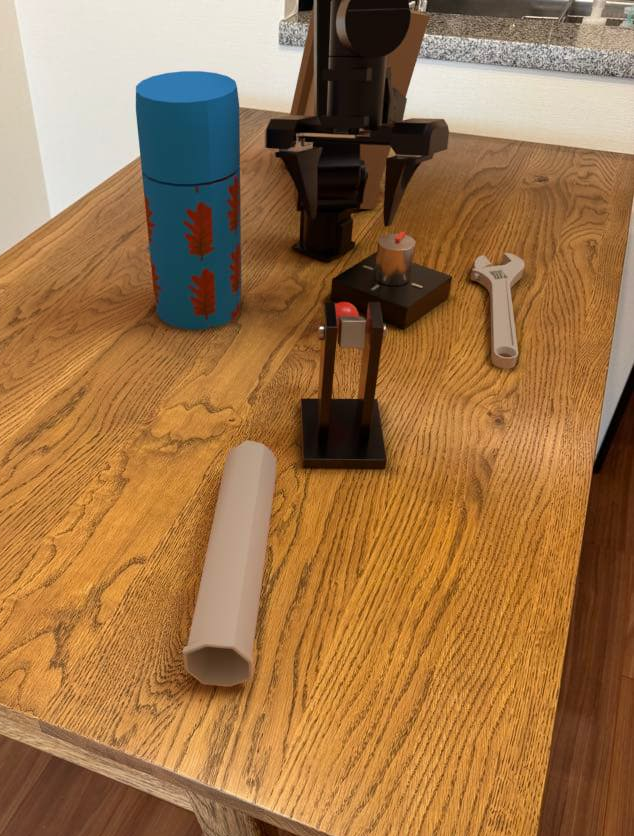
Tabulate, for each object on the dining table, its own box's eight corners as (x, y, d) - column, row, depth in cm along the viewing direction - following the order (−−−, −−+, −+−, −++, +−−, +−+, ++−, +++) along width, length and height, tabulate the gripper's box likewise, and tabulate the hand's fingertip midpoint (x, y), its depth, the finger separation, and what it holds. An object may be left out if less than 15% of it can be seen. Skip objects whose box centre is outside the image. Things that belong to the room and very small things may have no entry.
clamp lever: (325, 332, 81) (326, 300, 80) (356, 332, 81) (358, 300, 80) (334, 352, 70) (335, 316, 69) (370, 352, 70) (372, 316, 69)
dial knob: (403, 288, 94) (409, 250, 90) (368, 281, 95) (373, 243, 92) (415, 272, 97) (421, 235, 93) (381, 265, 98) (385, 228, 95)
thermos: (255, 296, 100) (255, 76, 82) (219, 338, 93) (211, 108, 75) (179, 281, 103) (164, 66, 85) (139, 319, 96) (113, 95, 78)
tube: (218, 435, 73) (170, 648, 56) (272, 424, 72) (240, 640, 54) (236, 477, 77) (197, 690, 59) (288, 467, 75) (263, 683, 58)
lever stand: (300, 407, 83) (306, 286, 73) (376, 407, 83) (392, 286, 73) (302, 468, 76) (310, 344, 66) (385, 469, 76) (405, 344, 66)
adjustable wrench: (516, 371, 87) (520, 358, 85) (457, 364, 88) (460, 350, 87) (522, 266, 103) (525, 254, 102) (472, 261, 105) (475, 249, 103)
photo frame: (348, 214, 116) (365, 16, 98) (280, 165, 130) (284, -16, 112) (431, 195, 120) (462, 2, 102) (356, 149, 134) (372, -28, 116)
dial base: (330, 300, 98) (331, 277, 96) (375, 271, 103) (378, 248, 101) (403, 330, 93) (407, 306, 91) (448, 298, 98) (452, 274, 96)
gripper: (476, 51, 79) (456, 216, 87) (313, 54, 88) (309, 203, 96) (436, 55, 71) (418, 235, 80) (261, 58, 80) (262, 220, 88)
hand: (349, 222), depth 86 cm, fingers open, 9 cm apart
